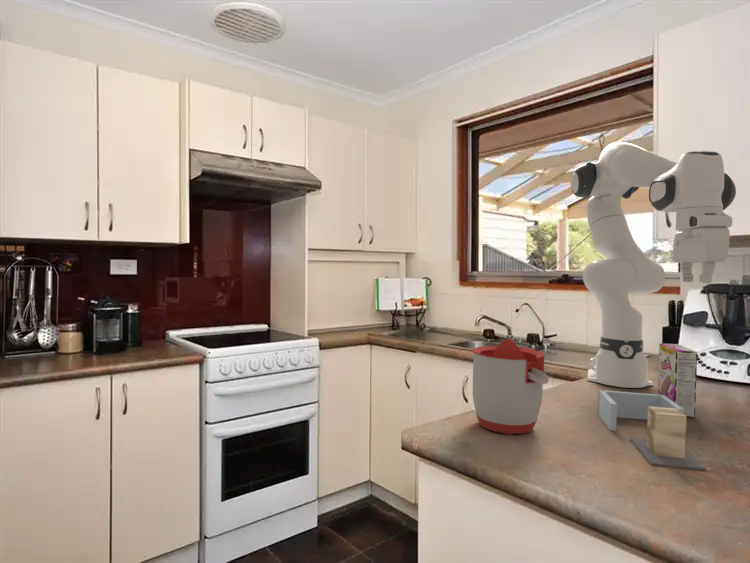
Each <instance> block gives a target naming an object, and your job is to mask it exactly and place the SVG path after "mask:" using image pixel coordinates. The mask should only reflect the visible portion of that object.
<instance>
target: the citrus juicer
mask: <svg viewBox="0 0 750 563" xmlns="http://www.w3.org/2000/svg"><path fill="white" fill-rule="evenodd" d="M472 353H473V354H472V355H473V358H472V360H473V362H472V399H473V400H472V401H473V405H474V409H475V414H476V418H477V421H478V422H479V425H480V426H482V427H483V428H485V429H487V430H489V431H492V432H495V433H500V434H501V433H502V434H504V435H507V436H510V435H511V436H512V435H514V434H515V435H516V434H517V435H518V434H519V435H520V434H526V433H529V432H531V431H532V430H533V429H534V427H535V425H536V423H537V421H538V416H539V413H540V411H541V406H542V402H543V386H544V385H546V384H548V383H549V376H548V375H547V373H546V372H545V356H546V355H545V353H544V352H543V351H539V350H537V349H532V348H527V347H520V346H518V345H517V344H516V342H515V341H514V340H512V339H511V338H509V337H507V338H505V339H503V340H502V341H501V342H500V344H499V345H483V346H476V347H474V348H472Z"/></svg>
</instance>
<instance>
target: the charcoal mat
mask: <svg viewBox="0 0 750 563" xmlns="http://www.w3.org/2000/svg"><path fill="white" fill-rule="evenodd" d="M629 440H630V441H632V442H631V443H632V444H633V445H634V446H635V448H636V449H637V450H638V451H639V453H640V454H641V455H642V456H643V457H644V459H645V460H646V461H647V463H649V465H651V466H659V467H667V468H679V469H685V470H686V469H687V470H696V471H704V472H706V471H707V468H706V467H705V466H704V464H703V463H701V461H700V460H698V459H697V458H696V457H695V456H694V455H693V454H691V452H689V451H688V450H687V449H686V448H685V458H676V457H667V456H657V455H654V453H653V452H652V451H651V450H650V449H649V448H648V447H647V438H646V439H644V438H635V437H633V438H632V437H629Z"/></svg>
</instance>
